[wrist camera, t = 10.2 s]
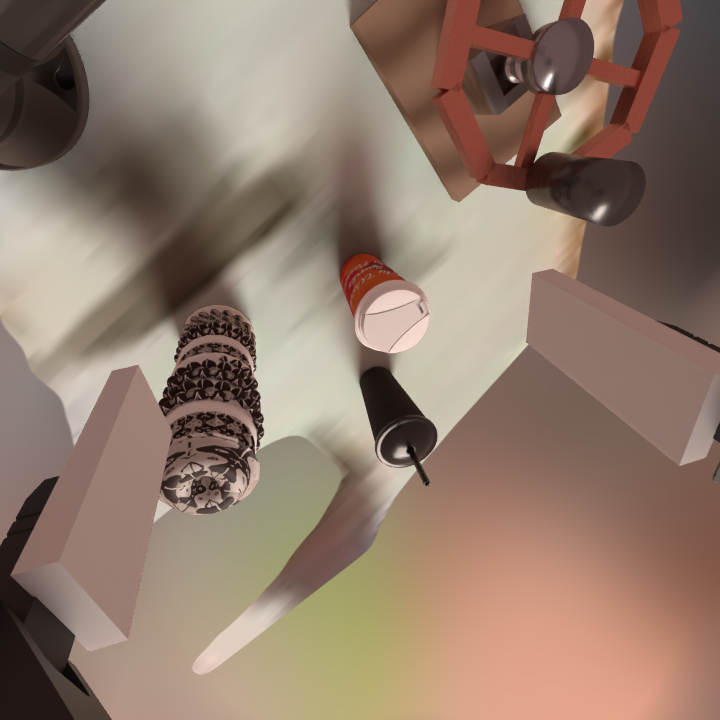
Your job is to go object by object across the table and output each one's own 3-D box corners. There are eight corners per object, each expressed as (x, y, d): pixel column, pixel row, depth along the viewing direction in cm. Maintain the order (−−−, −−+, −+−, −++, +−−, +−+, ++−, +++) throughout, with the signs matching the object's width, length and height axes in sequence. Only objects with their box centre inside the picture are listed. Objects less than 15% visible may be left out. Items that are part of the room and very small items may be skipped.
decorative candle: (266, 311, 51) (282, 448, 30) (248, 374, 55) (251, 535, 34) (187, 292, 48) (144, 431, 27) (173, 360, 52) (126, 529, 31)
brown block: (349, 26, 39) (379, 3, 31) (470, -91, 37) (536, -149, 29) (451, 199, 50) (494, 216, 41) (550, 115, 48) (615, 116, 39)
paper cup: (374, 232, 50) (415, 269, 38) (400, 284, 54) (445, 331, 42) (318, 266, 50) (341, 313, 38) (348, 315, 54) (378, 371, 43)
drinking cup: (371, 411, 63) (417, 519, 46) (339, 382, 59) (377, 488, 42) (410, 380, 62) (473, 479, 45) (381, 348, 58) (438, 443, 41)
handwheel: (468, 218, 42) (564, 264, 29) (368, 31, 32) (448, -19, 20) (622, 97, 39) (799, 90, 27) (564, -142, 30) (795, -325, 17)
